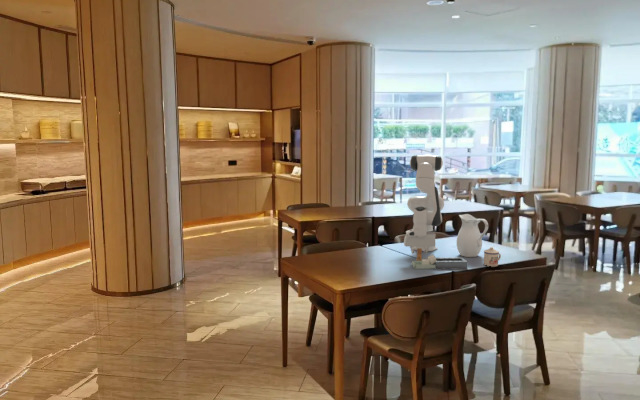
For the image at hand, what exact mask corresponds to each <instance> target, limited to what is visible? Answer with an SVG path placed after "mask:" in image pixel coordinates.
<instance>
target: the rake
mask: <svg viewBox="0 0 640 400" xmlns="http://www.w3.org/2000/svg"><path fill="white" fill-rule="evenodd" d="M416 251H417V252H416V260H415V261H422V259H423V257H422V255H423V254H422V253H423V251H422V249H421V248H417V250H416Z"/></svg>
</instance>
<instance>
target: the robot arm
mask: <svg viewBox="0 0 640 400" xmlns="http://www.w3.org/2000/svg"><path fill="white" fill-rule="evenodd" d="M443 164H444V162H443V158H442V156H441V155H438V154H437V155H434V154H433V155H432V154H419V155H418V154H416V155H412V156H411V157H410V160H409V166H410V168H411V170H413V171H414V172H416V176H415V186H416V189H417V190H419V191H420V192H421V193H423V194H426V195H422V196H421V195H417V196H416V195H415V196H411V197H409V198H408V200H407V208H408V210H409V211H411V212H412V222H413V226H412V228H411V229H409V230H406V231H405V235H404V238H403V239H404V240H403V246H405V247H409V248H410V250H411V254H415V251H417V248H421V249H422V252H424V254H428V252H433V251H436V250H438V247H437V246H436V237H437V234H436V232H434V229H433V228H434V227H439V226H440V225H441V224H442V223H443V216H442V212H441V211H442V210H443V209H444V207H445V201H444V199H443V197H441V196H440V195H439V191H438V187H436V186H435V172H437V171H440V170H441V169H442V167H443Z"/></svg>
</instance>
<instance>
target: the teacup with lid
mask: <svg viewBox="0 0 640 400" xmlns="http://www.w3.org/2000/svg"><path fill="white" fill-rule="evenodd" d="M500 260H501V253H500V251H499V250H496V249H495V248H494V247H493V246H491V247H489V248H488V249H485V250H484V251H483V265H484V266H485V265H487V266H486V267H489V266H491V268H495V267H498V266H499V261H500Z"/></svg>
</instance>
